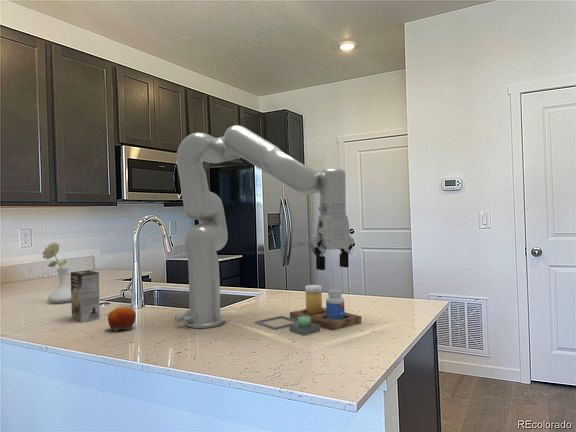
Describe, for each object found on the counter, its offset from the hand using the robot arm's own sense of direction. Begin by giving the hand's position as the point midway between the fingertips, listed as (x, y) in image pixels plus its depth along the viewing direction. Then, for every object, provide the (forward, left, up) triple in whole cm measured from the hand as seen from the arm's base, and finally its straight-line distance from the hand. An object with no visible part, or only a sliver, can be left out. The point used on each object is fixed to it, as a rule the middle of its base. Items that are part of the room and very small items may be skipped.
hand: (332, 268), depth 127 cm
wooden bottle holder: (0, +4, -18) cm, 18 cm away
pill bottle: (+1, 0, -17) cm, 17 cm away
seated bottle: (0, +9, -16) cm, 19 cm away
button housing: (-12, 0, -18) cm, 21 cm away
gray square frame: (-12, +12, -18) cm, 24 cm away
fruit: (-48, +44, -18) cm, 67 cm away
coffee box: (-53, +67, -18) cm, 87 cm away
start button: (-12, 0, -15) cm, 19 cm away
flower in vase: (-53, +107, -18) cm, 120 cm away
